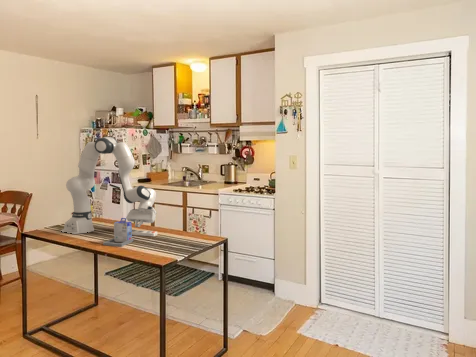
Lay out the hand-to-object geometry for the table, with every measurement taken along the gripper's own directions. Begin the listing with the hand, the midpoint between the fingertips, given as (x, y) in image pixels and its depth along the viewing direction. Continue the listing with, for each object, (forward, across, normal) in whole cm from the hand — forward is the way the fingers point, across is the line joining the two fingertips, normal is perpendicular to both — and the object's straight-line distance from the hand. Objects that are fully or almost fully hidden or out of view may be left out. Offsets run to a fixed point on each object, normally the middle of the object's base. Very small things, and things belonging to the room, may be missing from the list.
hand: (137, 226), depth 258 cm
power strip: (+3, +2, +5) cm, 6 cm away
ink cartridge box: (+16, 0, -8) cm, 18 cm away
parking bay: (+19, 0, -11) cm, 22 cm away
